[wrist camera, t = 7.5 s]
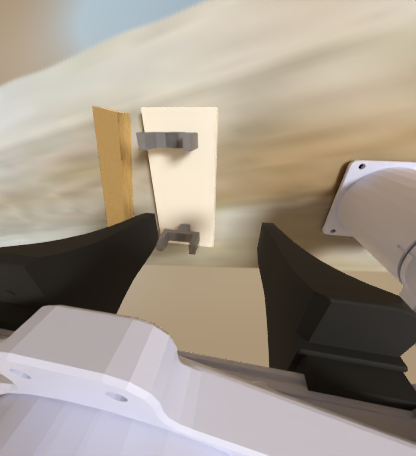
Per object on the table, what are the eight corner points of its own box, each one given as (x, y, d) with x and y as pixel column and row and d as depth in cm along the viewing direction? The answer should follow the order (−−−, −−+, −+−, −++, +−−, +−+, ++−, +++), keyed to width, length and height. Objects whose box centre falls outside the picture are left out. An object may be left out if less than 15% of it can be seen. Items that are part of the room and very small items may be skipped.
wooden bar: (131, 114, 17) (117, 112, 15) (135, 233, 25) (125, 242, 23) (109, 108, 18) (92, 106, 16) (119, 229, 25) (109, 237, 23)
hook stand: (218, 108, 16) (209, 100, 11) (214, 241, 23) (207, 269, 19) (146, 108, 17) (112, 101, 12) (165, 237, 24) (148, 262, 20)
